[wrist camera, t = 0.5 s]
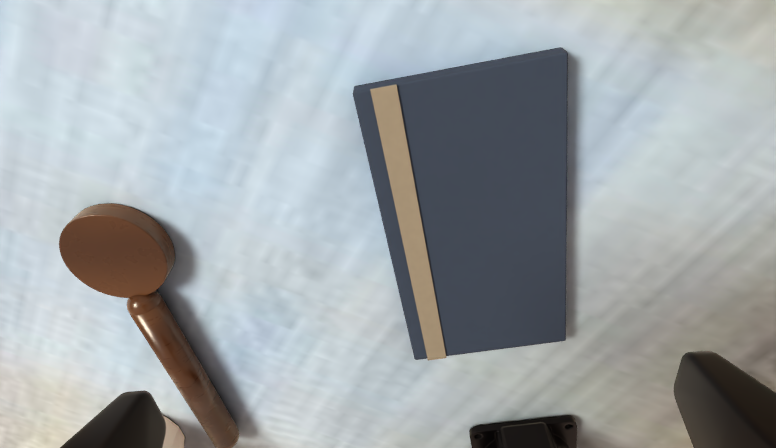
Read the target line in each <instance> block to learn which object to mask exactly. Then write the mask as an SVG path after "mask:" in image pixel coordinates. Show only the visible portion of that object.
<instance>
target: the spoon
mask: <svg viewBox="0 0 776 448" xmlns="http://www.w3.org/2000/svg"><path fill="white" fill-rule="evenodd" d="M59 248H60V253H61V256H62V258H63V261H64V262H65V264H66V266H67V267H68V268H69V270H70V271H71V272H72V273H73V274H74V275H75V276H76V277H77V278H78V279H79V280H80V281H82V282H83V283H85V284H86V285H88V286H89V287H91V288H93V289H95V290H97V291H99V292H102V293H104V294H108V295H111V296H116V297H123V298H128V301H127V309H128V312H129V313H130V315H131V317H132V318H133V320H134V321H135V323H136V324H137V326H138V327H139V329H140V331H141V332H142V334H143V335H144V337H145V338H146V340H147V341H148V343H149V345H150V346H151V348H152V349H153V351H154V352H155V354H156V355H157V357H158V359H159V360H160V362H161V363H162V365H163V366H164V368H165V369H166V371H167V373H168V374H169V376H170V377H171V379H172V380H173V382H174V383H175V385H176V387H177V388H178V390H179V391H180V393H181V394H182V396H183V397H184V399H185V401H186V402H187V404H188V405H189V407H190V408H191V410H192V411H193V413H194V415H195V416H196V418H197V419H198V421H199V422H200V424H201V425H202V427H203V429H204V430H205V432H206V433H207V435H208V436H209V438H210V439H211V441H212V443H213V444H214V446H215V447H216V448H232V447H233V446H234V445H235V444H236V443H237V441H238V438H239V430H238V428H237V426H236V424H235V422H234V421H233V419H232V417H231V416H230V414H229V412H228V410H227V409H226V407H225V405H224V403H223V402H222V400H221V398H220V397H219V395H218V393H217V391H216V390H215V388H214V386H213V385H212V383H211V381H210V379H209V378H208V376H207V374H206V372H205V371H204V369H203V367H202V366H201V364H200V362H199V360H198V359H197V357H196V355H195V354H194V352H193V350H192V348H191V347H190V345H189V343H188V341H187V340H186V338H185V336H184V335H183V333H182V331H181V329H180V328H179V326H178V324H177V323H176V321H175V319H174V317H173V316H172V314H171V312H170V311H169V309H168V307H167V305H166V304H165V302H164V300H163V298H162V297H161V295H160V294H159V293H158V292H157V291H156V290H157V289H158V288H159V287H160V286H161V285H162V284H163V283H164V281H165V280H166V278H167V276H168V275H169V273H170V271H171V270H172V267H173V265H174V261H175V252H174V247H173V244H172V241H171V239H170V237H169V236H168V234H167V233H166V231H165V230H164V229H163V228H162V227H161V226H160V225H159V224H158V223H157V222H156V221H155V220H154V219H152V218H151V217H149V216H148V215H146V214H144V213H143V212H141V211H138V210H136V209H134V208H131V207H128V206H124V205H120V204H98V205H93V206H90V207H88V208H86V209H84V210H82V211H81V212H80V213H78V214H77V215H76V216H75V217H74V218H73V219H72V220H71V221H70V222H69V223H68V224H67V225H66V227H65V228H64V229H63V231H62V233H61V236H60V241H59Z"/></svg>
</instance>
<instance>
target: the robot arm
mask: <svg viewBox="0 0 776 448" xmlns="http://www.w3.org/2000/svg"><path fill="white" fill-rule="evenodd" d="M674 395H675V399H676V402H677V405H678V408H679V410H680V413H681V415H682V418H683V421H684V423H685V426H686V429H687V431H688V434H689V436H690V439H691V442H692V444H693V447H694V448H776V393H775V392H774V391H772V390H771V389H769V388H768V387H766V386H765V385H763V384H762V383H760V382H759V381H757V380H756V379H754V378H753V377H751V376H750V375H748V374H747V373H745V372H744V371H742V370H741V369H739V368H738V367H736V366H735V365H733V364H732V363H730V362H729V361H727V360H726V359H724V358H723V357H721V356H720V355H718V354H717V353H714V352H712V351H699V352H688V353H686V354H685V355H684V356H683V357H682V359H681V363H680V366H679V370H678V373H677V377H676V380H675V384H674ZM469 433H470V439H471V445H472V448H576V444H577V424H576V421H575V419H574V418H573V417H572V416H562V417H553V418H544V419H535V420H527V421H518V422H509V423H500V424H491V425H482V426H475V427H472V428H471V429H470V431H469ZM165 434H166V422H165V419H164V417H163V415H162V413H161V411H160V410H159V408H158V406H157V404H156V402H155V401H154V399H153V397H152V395H151V394H150V393H149V392H147V391H134V392H125V393H123V394H121V395H120V396H118V397H117V398H116V399H115V400H114V401H113V402H111V403H110V404H109V405H108V406H107V407H106V408H105V409H103V410H102V411H101V412H100V413H99V414H98V415H97V416H96V417H94V418H93V419H92V420H91V421H90V422H89V423H88V424H86V425H85V426H84V427H83V428H82V429H81V430H80V431H79V432H77V433H76V434H75V435H74V436H73V437H72V438H71V439H69V440H68V441H67V442H66V443H65V444H64V445H63V446H61V447H60V448H162V447H163V443H164V439H165Z"/></svg>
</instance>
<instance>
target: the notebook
mask: <svg viewBox="0 0 776 448" xmlns="http://www.w3.org/2000/svg"><path fill="white" fill-rule="evenodd" d="M567 82H568V53H567V52H566V51H565V50H564V49H563V48H555V49H550V50H544V51H539V52H534V53H528V54H523V55H518V56H513V57H507V58H502V59H497V60H491V61H486V62H481V63H475V64H470V65H465V66H460V67H454V68H449V69H444V70H438V71H433V72H428V73H422V74H417V75H412V76H407V77H401V78H396V79H391V80H385V81H380V82H375V83H369V84H364V85H359V86H355V87H354V91H353V97H354V101H355V105H356V109H357V114H358V118H359V122H360V127H361V131H362V135H363V139H364V144H365V148H366V152H367V157H368V161H369V165H370V169H371V174H372V178H373V182H374V186H375V191H376V195H377V199H378V204H379V208H380V212H381V216H382V221H383V225H384V229H385V234H386V238H387V242H388V246H389V251H390V255H391V259H392V264H393V268H394V272H395V276H396V281H397V285H398V289H399V293H400V298H401V302H402V306H403V311H404V315H405V319H406V323H407V328H408V332H409V336H410V341H411V345H412V349H413V353H414V358H415V360H418V359H426V358H428V360H434V359H442V358H446V356H449V355H457V354H465V353H473V352H481V351H488V350H496V349H504V348H512V347H520V346H527V345H535V344H543V343H551V342H559V341H565V340H566V221H567Z"/></svg>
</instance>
